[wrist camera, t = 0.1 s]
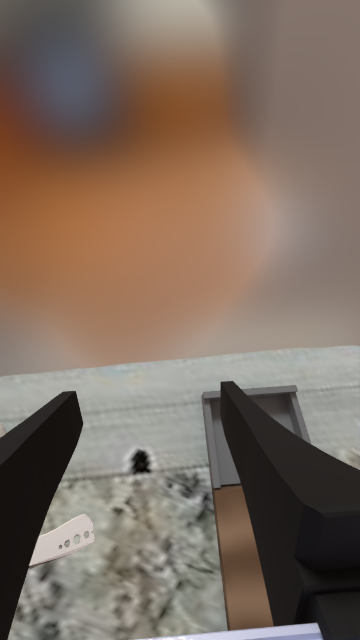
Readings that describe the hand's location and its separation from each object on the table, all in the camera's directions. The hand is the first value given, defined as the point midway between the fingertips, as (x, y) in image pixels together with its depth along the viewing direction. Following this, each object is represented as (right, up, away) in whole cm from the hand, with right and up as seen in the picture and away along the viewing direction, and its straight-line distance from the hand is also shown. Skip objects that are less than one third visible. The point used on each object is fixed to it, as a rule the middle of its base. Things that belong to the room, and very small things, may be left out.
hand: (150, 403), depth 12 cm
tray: (+14, -15, +28) cm, 35 cm away
